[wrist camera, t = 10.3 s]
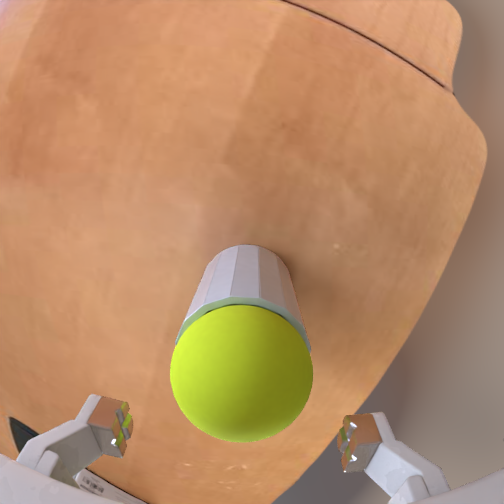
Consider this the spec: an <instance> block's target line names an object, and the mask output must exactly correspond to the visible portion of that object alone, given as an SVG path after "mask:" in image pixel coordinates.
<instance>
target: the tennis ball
mask: <svg viewBox="0 0 504 504" xmlns="http://www.w3.org/2000/svg"><path fill="white" fill-rule="evenodd" d="M170 380H171V385H172V390H173V394H174V397H175V399H176V401H177V403H178V405H179V407H180V409H181V410H182V412H183V413H184V414H185V416H186V417H187V418H188V419H189V420H190V421H191V422H192V423H193V424H194V425H195V426H196V427H198V428H199V429H200V430H202V431H203V432H205V433H207V434H209V435H211V436H213V437H216V438H219V439H222V440H226V441H231V442H253V441H258V440H262V439H266V438H268V437H271V436H273V435H275V434H277V433H279V432H280V431H282V430H283V429H285V428H286V427H287V426H289V425H290V424H291V423H292V422H293V421H294V420H295V419H296V418H297V417H298V415H299V414H300V413H301V411H302V410H303V408H304V406H305V404H306V402H307V400H308V398H309V395H310V391H311V388H312V381H313V366H312V361H311V356H310V353H309V351H308V348H307V346H306V344H305V341H304V340H303V338H302V337H301V335H300V334H299V333H298V331H297V330H296V329H295V328H294V327H293V326H292V325H291V324H290V323H289V322H288V321H286V320H285V319H284V318H282V317H281V316H279V315H278V314H276V313H274V312H272V311H270V310H267V309H264V308H261V307H256V306H249V305H233V306H226V307H222V308H218V309H216V310H213V311H210V312H209V313H207V314H205V315H203V316H202V317H200V318H199V319H197V320H196V321H195V322H193V323H192V324H191V325H190V326H189V327H188V328H187V330H186V331H185V332H184V333H183V335H182V336H181V338H180V339H179V341H178V343H177V345H176V347H175V350H174V353H173V356H172V360H171V367H170Z"/></svg>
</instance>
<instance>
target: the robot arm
mask: <svg viewBox="0 0 504 504" xmlns="http://www.w3.org/2000/svg"><path fill="white" fill-rule="evenodd" d="M129 409H130V408H129V405H128V403H127V402H124V401H120V400H116V399H112V398H108V397H104V396H99V395H95V394H91V395H90V396H89V397H88V398H87V400H86V402H85V403H84V405H83V407H82V408H81V410H80V412H79V414H78V415H77V417H76V419H75V420H69V421H67V422H65V423H64V424H61V425H59V426H57V427H55V428H53V429H51V430H49V431H47V432H45V433H43V434H41V435H39V436H37V437H35V438H33V439H31V440H28V442H27V443H26V445H25V447H24V448H23V450H22V451H21V453H20V455H19V456H18V458H17V459H16V461H14V460H12V459H11V458H9V457H7V456H5V455H3V454H1V453H0V504H127V503H123V502H119V501H116V500H112V499H109V498H105V497H102V496H99V495H96V494H93V493H90V492H87V491H84V490H81V489H80V487H79V485H78V484H77V483H76V481H75V480H74V478H73V476H75V475H76V474H77V473H79V472H80V471H82V470H83V469H84V468H86V467H87V466H88V465H90V464H91V463H92V462H94V461H95V460H96V459H98V458H99V457H100V456H102V455H103V454H106V455H110V456H114V457H119V458H123V455H124V453H125V450H126V448H127V444H126V442H125V441H126V440H128V439H129V438H130V437H131V434H132V431H133V419H132V416H131V415H130V414H129V413H128V411H129ZM343 425H344V427H342V428H341V429H340V430H339V433H338V440H337V442H338V449H339V452H341V453H342V454H343V457H342V459H341V462H342V466H343V470H344V472H345V473H346V472H356V471H365V472H366V473H367V474H368V475H369V476H370V477H371V478H372V479H373V480H374V481H375V482H376V483H377V484H378V485H379V486H380V487H381V488H382V489H383V490H384V491H386V493H387V494H388V495H390V496H391V497H392V498H391V499H390V501H389V502H388V503H387V504H504V468H502V469H500V470H498V471H496V472H493V473H491V474H489V475H487V476H485V477H482V478H480V479H478V480H475V481H473V482H471V483H468V484H465V485H463V486H460V487H458V488H455V489H452V490H451V489H450V487H449V485H448V483H447V480H446V478H445V476H444V474H443V472H442V469H441V468H440V467H439V466H437V465H436V464H434V463H432V462H431V461H429V460H428V459H426V458H425V457H423V456H422V455H420V454H419V453H417V452H416V451H414V450H413V449H411V448H410V447H408V446H407V445H405V444H404V443H402V442H401V441H396V439H395V437H394V435H393V432H392V430H391V428H390V426H389V423H388V421H387V418H386V416H385V414H384V413H383V412H377V413H367V414H357V415H346V416H345V417H344V420H343Z"/></svg>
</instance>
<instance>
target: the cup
mask: <svg viewBox="0 0 504 504" xmlns="http://www.w3.org/2000/svg"><path fill="white" fill-rule="evenodd" d="M233 305H249V306H256V307H261V308H264V309H267V310H270V311H272V312H274V313H276V314H278V315H279V316H281V317H282V318H284V319H285V320H286V321H288V322H289V323H290V324H291V325H292V326H293V327H294V328H295V329H296V330H297V331H298V333H299V334H300V335H301V337H302V338H303V340H304V341H305V344H306V346H307V348H308V351H309V353H310V352H311V346H310V342H309V339H308V335H307V331H306V328H305V324H304V321H303V317H302V314H301V310H300V307H299V303H298V300H297V296H296V293H295V289H294V286H293V283H292V280H291V277H290V273H289V271H288V268H287V267H286V265H285V264H284V262H283V261H282V260H281V259H280V258H279V257H278V256H277V255H276V254H274V253H273V252H271V251H270V250H268V249H266V248H263V247H260V246H256V245H237V246H233V247H230V248H227V249H225V250H223V251H222V252H220V253H219V254H217V255H216V256H215V257H214V258H213V259H212V260H211V261H210V263H209V264H208V265H207V267H206V269H205V272H204V274H203V276H202V278H201V281H200V283H199V285H198V288H197V290H196V293H195V295H194V297H193V300H192V302H191V304H190V307H189V309H188V312H187V314H186V316H185V319H184V321H183V324H182V326H181V328H180V331H179V333H178V336H177V338H176V342H175V343H176V345H177V343H178V341H179V339H180V338H181V336H182V335H183V333H184V332H185V331H186V330H187V328H188V327H189V326H190V325H191V324H192V323H193V322H195V321H196V320H197V319H199V318H200V317H202V316H203V315H205V314H207V313H209V312H210V311H213V310H216V309H218V308H222V307H226V306H233Z"/></svg>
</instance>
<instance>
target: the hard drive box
mask: <svg viewBox="0 0 504 504" xmlns="http://www.w3.org/2000/svg"><path fill="white" fill-rule="evenodd" d="M73 478H74V480H75V481H76V483H77V484H78V485H79V487H80V489H81V490H84V491H87V492H90V493H93V494H96V495H99V496H102V497H105V498H109V499H112V500H116V501H119V502H123V503H127V504H147V503H145V502H143V501H141V500H139V499H137V498H135V497H133V496H131V495H129V494H127V493H125V492H123V491H122V490H120V489H118V488H116V487H114V486H113V485H111V484H109V483H108V482H106V481H105V480H103V479H101V478H100V477H98V476H96V475H94V474H93V473H91V472H89V471H88V470H86V469H85V468H84V469H83V470H82V471H80V472H79V473H77V474H76V475H75V476H73Z"/></svg>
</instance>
